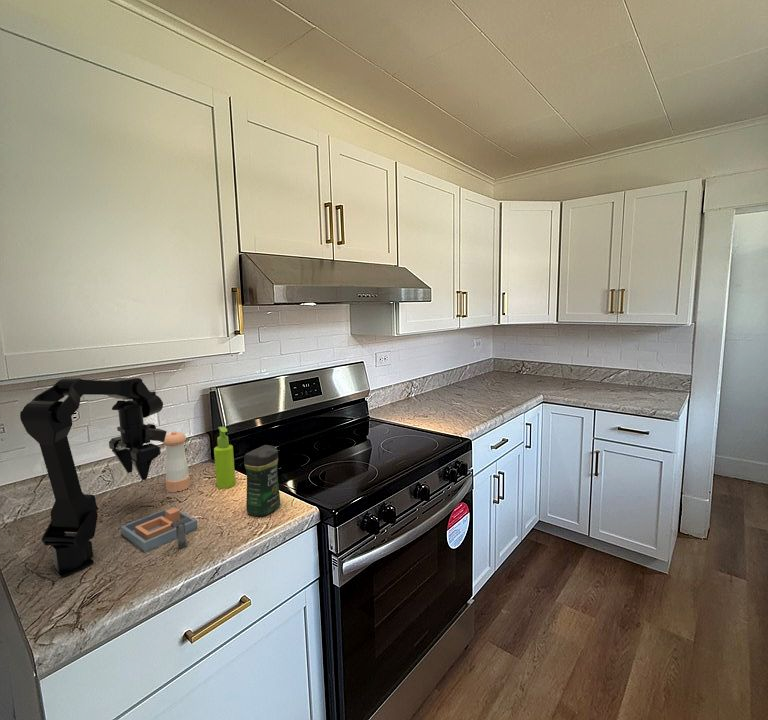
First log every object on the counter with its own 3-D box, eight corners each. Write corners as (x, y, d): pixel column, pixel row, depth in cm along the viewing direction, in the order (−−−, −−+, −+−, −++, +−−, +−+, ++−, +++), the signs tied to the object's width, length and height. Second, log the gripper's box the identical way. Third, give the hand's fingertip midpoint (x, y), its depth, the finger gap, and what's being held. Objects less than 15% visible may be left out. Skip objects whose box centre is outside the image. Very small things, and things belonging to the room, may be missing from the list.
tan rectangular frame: (147, 542, 106) (146, 527, 105) (135, 534, 110) (133, 519, 110) (184, 526, 113) (183, 512, 113) (171, 518, 118) (170, 505, 117)
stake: (176, 551, 103) (173, 525, 102) (172, 548, 104) (169, 522, 103) (192, 544, 106) (189, 518, 105) (187, 541, 107) (185, 516, 106)
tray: (145, 552, 102) (144, 543, 102) (121, 535, 110) (120, 526, 110) (197, 528, 113) (196, 520, 113) (172, 514, 121) (171, 506, 121)
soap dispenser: (219, 491, 136) (214, 431, 133) (215, 484, 141) (210, 426, 139) (238, 487, 139) (234, 428, 136) (233, 480, 144) (229, 423, 142)
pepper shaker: (181, 481, 144) (176, 427, 142) (195, 485, 141) (190, 429, 138) (161, 489, 138) (156, 433, 135) (175, 494, 134) (170, 436, 132)
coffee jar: (264, 519, 117) (260, 455, 115) (242, 514, 120) (238, 452, 118) (285, 504, 126) (282, 444, 124) (264, 500, 129) (260, 441, 127)
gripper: (177, 420, 118) (181, 474, 120) (146, 411, 129) (151, 460, 131) (134, 430, 109) (140, 488, 111) (105, 419, 120) (111, 472, 122)
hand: (137, 476), depth 119 cm, fingers open, 9 cm apart
